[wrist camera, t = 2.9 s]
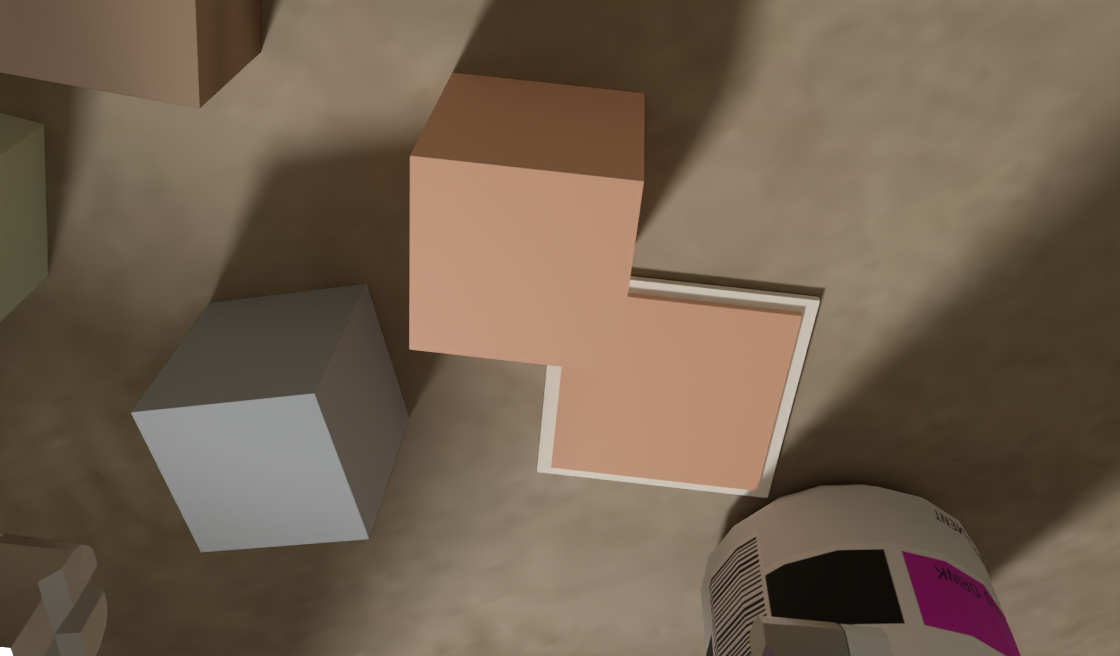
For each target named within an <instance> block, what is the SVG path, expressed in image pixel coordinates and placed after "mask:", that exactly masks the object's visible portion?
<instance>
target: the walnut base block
mask: <svg viewBox="0 0 1120 656" xmlns="http://www.w3.org/2000/svg"><path fill="white" fill-rule="evenodd" d="M260 52H261V0H0V73H5V74H11V75H17V76H22V77H28V78H33V79H39V80H44V81H50V82H56V83H61V84H67V85H72V86H78V87H83V88H89V89H95V90H100V91H106V92H111V93H117V94H122V95H128V96H133V97H139V98H145V99H150V100H156V101H161V102H167V103H172V104H178V105H184V106H189V107H195V108H201V107H202V106H203V105H204V104H205V103H206V102H207V101H208V100H209V99H210V98H211V97H213V96H214V95H215V94H216V93H217V92H218V91H219V90H220V89H221V88H222V87H223V86H225V85H226V84H227V83H228V82H229V81H230V80H231V79H232V78H233V77H234V76H235V75H236V74H238V73H239V72H240V71H241V70H242V69H243V68H244V67H245V66H246V65H247V64H248V63H249V62H251V61H252V60H253V59H254V58H255V57H256V56H257V55H258V54H259V53H260Z"/></svg>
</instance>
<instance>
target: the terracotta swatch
mask: <svg viewBox="0 0 1120 656" xmlns="http://www.w3.org/2000/svg"><path fill="white" fill-rule="evenodd" d="M819 303H820V299H819V297H816V296H807V295H798V294H789V293H780V292H771V291H762V290H753V289H744V288H735V287H726V286H717V285H708V284H699V283H690V282H681V281H672V280H663V279H654V278H644V277H635V276H630V283H629V290H628V297H627V304H626V311H625V318H624V325H623V332H622V339H621V346H620V353H619V360H618V367H617V373H613V372H604V371H595V370H586V369H577V368H569V367H560V366H551V365H547V372H546V383H545V393H544V404H543V414H542V425H541V436H540V446H539V457H538V467H537V472H543V473H552V474H560V475H569V476H578V477H587V478H596V479H604V480H613V481H622V482H631V483H639V484H648V485H657V486H666V487H675V488H683V489H692V490H701V491H710V492H719V493H727V494H736V495H745V496H754V497H763V498H768V494H769V490H770V487H771V483H772V479H773V475H774V472H775V468H776V464H777V460H778V457H779V453H780V449H781V445H782V442H783V438H784V434H785V430H786V427H787V423H788V419H789V415H790V412H791V408H792V404H793V400H794V397H795V393H796V389H797V385H798V382H799V378H800V374H801V370H802V367H803V363H804V359H805V355H806V352H807V348H808V344H809V340H810V337H811V333H812V329H813V325H814V322H815V318H816V314H817V310H818V307H819Z"/></svg>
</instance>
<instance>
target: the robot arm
mask: <svg viewBox="0 0 1120 656" xmlns="http://www.w3.org/2000/svg"><path fill="white" fill-rule="evenodd" d="M97 566H98V564H97V561H96V558H95V555H94V552H93V548H92V546H88V545H83V544H76V543H69V542H61V541H54V540H46V539H39V538H31V537H24V536H16V535H9V534H0V656H96V654H97V652H98V650H99V649H100V647H101V643H102V639H103V636H104V632H105V628H106V625H107V601H106V596H105V592H104V590H103V589H102V588H101V587H100V586H98V585H97V584H96V583H95V582H94V581H93V580H92V579H91V576H92V574H93V573H94V571H95V569H96V568H97ZM749 638H750V647H751V654H749V655H748V656H892V653H891V649H890V645H889V642H888V638H887V635H886V634H885V632H884V631H883V630H882V629H881V628H876V627H866V626H857V625H847V624H837V623H834V622H823V621H813V620H802V619H791V618H781V617H770V616H760V615H758V616H757V617H756V619H755V620H754V621H753V625H752V628H751V631H750V634H749Z"/></svg>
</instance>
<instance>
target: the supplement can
mask: <svg viewBox="0 0 1120 656" xmlns="http://www.w3.org/2000/svg"><path fill="white" fill-rule="evenodd" d="M701 595H702V608H703V620H704V632H705V644H706V656H748V655H749V654H751V647H750V638H749V634H750V631H751V628H752V625H753V621H754V620H755V619H756V617H757V616H758V615H760V616H770V617H781V618H791V619H802V620H813V621H823V622H834V623H837V624H847V625H857V626H866V627H876V628H881V629H882V630H883V631H884V632H885V634H886V635H887V638H888V642H889V645H890V649H891V653H892V656H1020V653H1019V651H1018V648H1017V646H1016V643H1015V641H1014V638H1013V636H1012V633H1011V631H1010V628H1009V626H1008V623H1007V621H1006V618H1005V616H1004V613H1003V611H1002V608H1001V606H1000V603H999V601H998V598H997V596H996V593H995V591H994V588H993V586H992V583H991V581H990V578H989V576H988V573H987V571H986V568H985V566H984V563H983V561H982V558H981V556H980V553H979V551H978V549H977V548H976V546H975V545H974V543H973V541H972V540H971V538H970V537H969V535H968V534H967V532H966V531H965V529H964V528H963V526H962V525H961V523H960V522H959V520H957V519H956V518H954V517H952V516H951V515H949V514H948V513H946V512H945V511H943V510H941V509H940V508H938V507H937V506H935V505H934V504H932V503H930V502H929V501H927V500H926V499H924V498H922V497H918V496H914V495H910V494H906V493H902V492H897V491H893V490H889V489H885V488H881V487H877V486H869V485H865V484H862V485H825V486H818V487H814V488H811V489H807V490H804V491H800V492H797V493H793V494H790V495H787V496H783V497H780V498H778V499H776V500H775V501H773V502H772V503H770V504H768V505H767V506H765V507H763V508H762V509H760V510H759V511H757V512H755V513H754V514H752V515H751V516H749V517H747V518H746V519H744V520H742V521H741V522H739V523H738V524H736V525H734V526H733V527H732V529H731V530H730V531H729V532H728V534H727V535H726V536H725V537H724V539H723V540H722V541H721V542H720V544H719V545H718V546H717V547H716V549H715V550H714V551H713V552H712V553H711V555H710V556H709V559H708V563H707V567H706V571H705V575H704V579H703V583H702V587H701Z"/></svg>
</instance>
